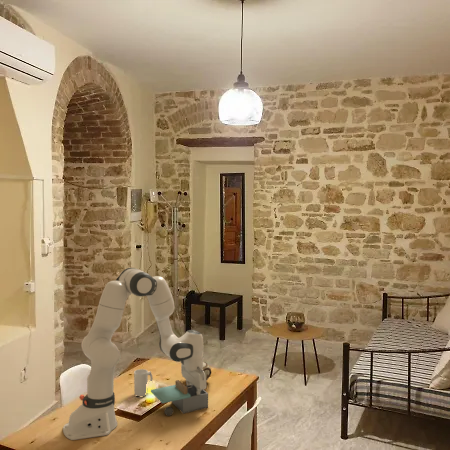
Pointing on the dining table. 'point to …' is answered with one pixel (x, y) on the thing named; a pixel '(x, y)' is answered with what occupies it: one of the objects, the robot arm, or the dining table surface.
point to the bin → (192, 401)
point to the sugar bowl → (206, 370)
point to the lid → (171, 392)
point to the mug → (141, 381)
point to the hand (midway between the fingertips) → (193, 392)
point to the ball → (168, 411)
